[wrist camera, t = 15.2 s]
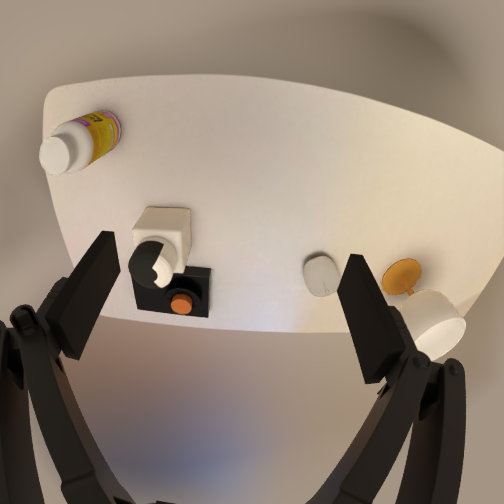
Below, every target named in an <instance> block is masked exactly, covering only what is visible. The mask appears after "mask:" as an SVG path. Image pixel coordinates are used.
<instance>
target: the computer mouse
mask: <svg viewBox="0 0 504 504" xmlns="http://www.w3.org/2000/svg"><path fill="white" fill-rule="evenodd" d="M304 278H305V282H306V285H307V287H308V289H309V291H310V292H311V294H313V295H314V296H317V297H324V296H328V295H330V294H333V293H334V292H336V291H337V289H338V286H339V283H340V281H341V279H340V276H339V273H338V270H337V268H336V266H335V264H334V263H333V261H332V260H331V259H330V258H328V257H326V256H319V257H315V258H313V259H311V260H309V261H308V262H306V264H305V266H304Z"/></svg>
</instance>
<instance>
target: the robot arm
mask: <svg viewBox="0 0 504 504" xmlns="http://www.w3.org/2000/svg"><path fill="white" fill-rule="evenodd" d="M120 272H121V270H120V265H119V259H118V254H117V248H116V241H115V235H114V232H112V231H102V232H101V233H100V234H99V236H98V237H97V238H96V240H95V241H94V242H93V244H92V245H91V246H90V248H89V249H88V250H87V252H86V253H85V255H84V256H83V257H82V259H81V260H80V262H79V263H78V264H77V266H76V267H75V269H74V271H73V272H72V273H71V275H70V276H69V278H66V277H62V278H61V279H60V280H59V281H57V282H56V283H55V284H54V286H53V287H52V289H51V290H50V292H49V293H48V295H47V298H45V300H44V301H43V303H42V304H41V306H40V308H39V309H38V311H37V312H36V313H35V311H34V309H33V307H32V306H30V305H26V304H25V305H20V306H18V307H17V308H15V310H14V311H12V313H11V315H10V321H11V323H12V325H13V327H14V328H7V327H6V326H5V324H4V322H2V321H1V320H0V504H45V503H44V498H43V494H42V490H41V486H40V482H39V477H38V473H37V468H36V462H35V457H34V450H33V444H32V437H31V427H30V416H29V400H28V390H29V393H30V397H31V401H32V404H33V408H34V411H35V414H36V417H37V420H38V423H39V426H40V429H41V432H42V435H43V437H44V440H45V443H46V445H47V448H48V450H49V453H50V455H51V458H52V460H53V462H54V464H55V467H56V469H57V471H58V473H59V475H60V478H61V480H62V484H61V491H62V493H63V496H64V498H65V500H66V501H67V503H68V504H136V503H135V502H134V501H133V499H132V498H131V496H130V495H129V494H128V492H127V491H126V490H125V489H124V488H123V487H122V486H121V485H120V483H119V482H118V480H117V479H116V477H115V476H114V474H113V472H112V471H111V469H110V467H109V466H108V464H107V462H106V461H105V459H104V457H103V455H102V453H101V452H100V450H99V448H98V446H97V444H96V442H95V440H94V438H93V436H92V434H91V432H90V430H89V428H88V426H87V424H86V422H85V420H84V417H83V415H82V413H81V411H80V408H79V406H78V404H77V401H76V399H75V396H74V394H73V391H72V389H71V386H70V384H69V381H68V378H67V376H66V373H65V371H64V367H63V364H62V361H61V359H60V357H59V354H60V352H61V350H62V351H63V353H64V355H65V356H66V357H68V358H72V359H75V360H79V359H80V357H81V354H82V352H83V350H84V347H85V345H86V343H87V340H88V338H89V336H90V333H91V331H92V329H93V327H94V325H95V322H96V320H97V318H98V316H99V314H100V312H101V309H102V307H103V305H104V303H105V301H106V299H107V297H108V295H109V293H110V291H111V289H112V287H113V285H114V283H115V281H116V279H117V277H118V275H119V273H120ZM337 293H338V296H339V299H340V302H341V305H342V308H343V311H344V314H345V317H346V320H347V324H348V327H349V330H350V333H351V336H352V340H353V343H354V346H355V349H356V353H357V356H358V360H359V363H360V367H361V370H362V374H363V378H364V381H365V384H372V383H379V382H380V381H381V380H382V379H383V377H384V376H385V378H386V381H387V383H386V384H385V385H384V386H383V387H382V388H381V390H380V391H379V392H378V393H377V394H379V396H378V398H377V400H376V402H375V404H374V406H373V407H372V409H371V411H370V413H369V415H368V417H367V418H366V420H365V422H364V424H363V425H362V427H361V429H360V430H359V432H358V434H357V435H356V437H355V438H354V440H353V442H352V443H351V445H350V447H349V448H348V450H347V451H346V453H345V454H344V456H343V457H342V459H341V460H340V461H339V463H338V465H337V466H336V468H335V469H334V470H333V471H332V473H331V474H330V476H329V477H328V478H327V480H326V481H325V483H324V484H323V485H322V486H321V488H320V489H319V490H318V492H317V493H316V494H315V495H314V496H313V497H312V498H311V499H310V500H309V501H308V502H307V503H306V504H372V502H373V499H374V498H375V496H376V494H377V493H378V491H379V490H380V488H381V486H382V484H383V483H384V481H385V479H386V477H387V476H388V474H389V472H390V470H391V468H392V466H393V464H394V462H395V460H396V458H397V456H398V454H399V452H400V450H401V448H402V446H403V443H404V441H405V439H406V437H407V434H408V432H409V430H410V427H411V425H412V423H413V428H412V434H411V440H410V446H409V450H408V455H407V460H406V465H405V469H404V473H403V477H402V482H401V485H400V489H399V493H398V496H397V500H396V503H395V504H457V499H458V494H459V488H460V482H461V475H462V467H463V458H464V445H465V429H466V390H465V371H464V368H463V366H462V364H461V363H460V362H459V361H458V360H456V359H453V358H449V359H447V360H446V361H445V363H444V364H440V363H435V362H431V360H430V358H429V357H428V355H426V354H425V353H424V352H421V351H418V349H417V347H416V345H415V343H414V340H413V338H412V336H411V334H410V332H409V329H407V325H406V323H405V322H404V319H403V317H402V315H401V313H400V312H399V311H398V310H397V309H396V307H395V306H388V305H387V303H386V301H385V298H384V296H383V294H382V292H381V290H380V288H379V286H378V284H377V282H376V280H375V278H374V276H373V274H372V272H371V270H370V268H369V266H368V265H367V263H366V261H365V259H364V257H363V255H358V254H350V257H349V259H348V262H347V265H346V268H345V270H344V273H343V276H342V278H341V281H340V283H339V286H338V289H337ZM413 420H414V421H413ZM151 504H174V503H167V502H161V501H156V503H151Z"/></svg>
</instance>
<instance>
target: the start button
mask: <svg viewBox="0 0 504 504" xmlns="http://www.w3.org/2000/svg"><path fill="white" fill-rule="evenodd" d="M192 303H193V302H192V299H191V298H190V297H189V296H187V295H185V294H176V295H175V296H174V297H173V299H172V302H171V308H172V309H173V311H175V312H176V313H178V314H187V313H189V312H190V311H191V309H192Z"/></svg>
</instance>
